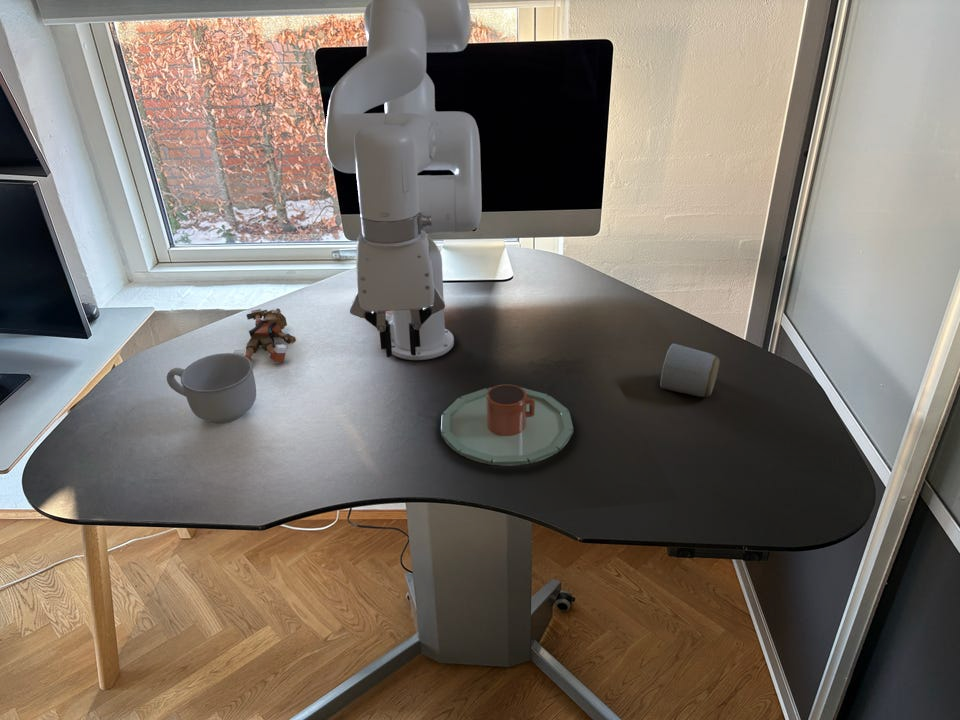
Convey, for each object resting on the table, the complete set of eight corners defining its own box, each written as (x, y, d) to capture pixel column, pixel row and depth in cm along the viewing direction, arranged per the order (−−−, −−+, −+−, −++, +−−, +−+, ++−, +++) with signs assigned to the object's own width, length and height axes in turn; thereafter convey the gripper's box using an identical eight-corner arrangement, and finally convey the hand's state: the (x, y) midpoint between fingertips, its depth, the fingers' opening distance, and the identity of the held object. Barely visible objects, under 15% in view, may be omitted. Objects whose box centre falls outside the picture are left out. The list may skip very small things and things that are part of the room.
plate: (415, 447, 107) (415, 437, 106) (480, 385, 122) (480, 376, 122) (538, 488, 99) (538, 477, 98) (591, 415, 114) (592, 405, 113)
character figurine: (215, 352, 127) (246, 299, 142) (221, 374, 130) (251, 320, 145) (282, 352, 127) (306, 299, 141) (287, 375, 130) (310, 320, 144)
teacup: (273, 400, 119) (265, 358, 115) (233, 437, 110) (223, 392, 106) (203, 387, 123) (193, 346, 119) (159, 421, 114) (147, 378, 110)
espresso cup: (489, 437, 107) (488, 406, 104) (484, 415, 112) (484, 385, 110) (537, 433, 108) (538, 403, 105) (530, 411, 113) (531, 381, 110)
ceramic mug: (708, 407, 115) (715, 365, 112) (657, 396, 118) (662, 354, 115) (719, 377, 124) (726, 337, 120) (671, 367, 127) (677, 328, 123)
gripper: (452, 214, 97) (456, 335, 106) (329, 220, 95) (344, 343, 104) (456, 233, 90) (460, 360, 99) (325, 240, 89) (341, 369, 98)
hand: (401, 350), depth 102 cm, fingers closed
